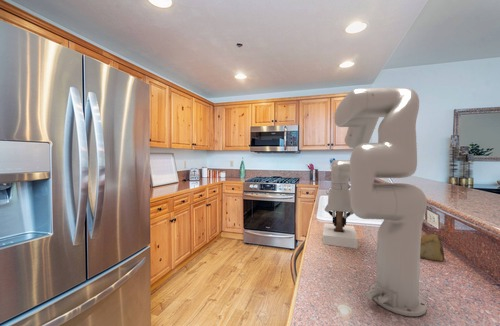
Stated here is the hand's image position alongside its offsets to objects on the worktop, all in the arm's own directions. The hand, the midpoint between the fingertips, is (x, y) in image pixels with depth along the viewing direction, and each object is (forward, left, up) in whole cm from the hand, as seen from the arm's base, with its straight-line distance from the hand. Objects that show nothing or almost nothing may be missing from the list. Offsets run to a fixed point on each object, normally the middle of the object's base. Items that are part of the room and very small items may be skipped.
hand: (339, 225), depth 102 cm
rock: (+17, -27, -7) cm, 33 cm away
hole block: (0, 0, -6) cm, 6 cm away
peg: (0, 0, -4) cm, 4 cm away
